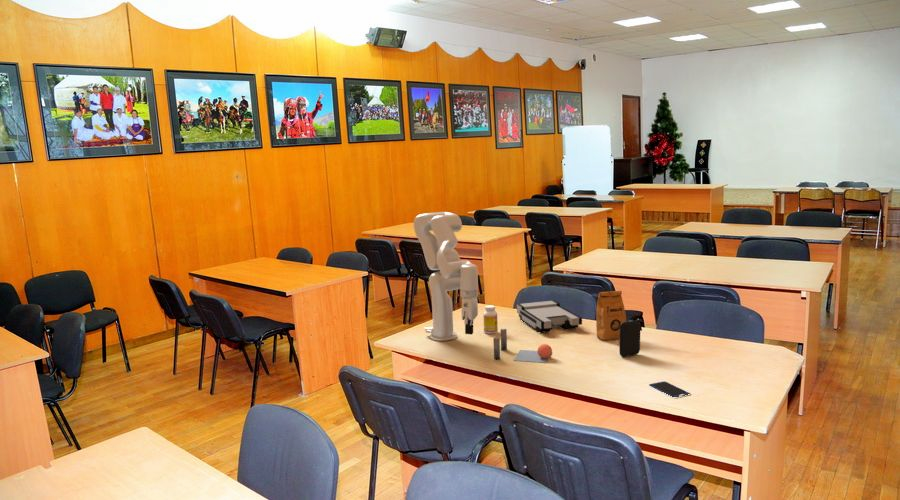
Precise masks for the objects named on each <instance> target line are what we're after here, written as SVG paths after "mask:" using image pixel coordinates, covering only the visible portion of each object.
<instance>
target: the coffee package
mask: <svg viewBox="0 0 900 500" xmlns="http://www.w3.org/2000/svg"><path fill="white" fill-rule="evenodd" d="M622 294H623V291H622V290H613V291H600V292H599V293H598V295H597V296H598V297H597V301H596V324H595V325H596V337H597V338H599V339H600V340H603V341H611V340H613V341H614V340H615V341H616V340H620V325H621V323H623V322H627V314H626V310H625V305H624V300H623V297H622Z"/></svg>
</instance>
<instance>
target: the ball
mask: <svg viewBox="0 0 900 500" xmlns="http://www.w3.org/2000/svg"><path fill="white" fill-rule="evenodd" d="M536 351H537V352H538V355H539V356H540V357H541V358H544V359H546V358H549V357H550V358H551V356H552V354H553V349H552V347H551V346H550V345H549V344H547V343H542V344H540V345H539V346H538V347H537V350H536Z"/></svg>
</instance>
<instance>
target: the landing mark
mask: <svg viewBox="0 0 900 500" xmlns="http://www.w3.org/2000/svg"><path fill="white" fill-rule="evenodd" d="M550 358H551V356H550V357H549V358H546V359H544V358H541V357H540V356H539V355H538V352H537V350H527V349H519V350H518V353H516V356H515V357H514V358H513V362H525V363H528V362H529V363H540V364H541V363H542V364H549V363H548V362H549V361H550Z"/></svg>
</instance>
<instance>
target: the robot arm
mask: <svg viewBox="0 0 900 500" xmlns="http://www.w3.org/2000/svg"><path fill="white" fill-rule="evenodd" d="M462 227H463V223H462V219H461V217H460V216H459V215H458V214H456V213H453V212H448V211H439V212H437V211H436V212H427V213H426V212H425V213H421V214H418V215H417V216H415V217H414V219H413V230H414V233H415V236H416V238H417V240H418V241H419V243H420V245H421V248H422V251H423V254H424V255H423V256H424V259H425V262H426V265H427V268H428V269H429V270H431V271H435V272H433V273H431V274H430V276H429V278H428V284H429V289H430V295H431V310H432V327H424V331H425V333H426V334H430V335H429V338H430V339H431V340H433V341H440V342H441V341H442V342H444V341H452V340H455V339H457V337H458V336H457V335H458V333H456V332H455V331H454V317H453V316H454V313H453V312H454V311H453V300H452V297H451V296H450V295H449V293H448V292H450V291H456V290H459V296H460V298H461V320H462V321H463V322H464V331H465V332H464V333H465V335H473V334H474V320H475V319H476V318H477V316H478V315H479V306H478V303H479V302H478V297H479V289H478V288H479V271H478V270H479V269H478V265H476V264H474V263H472V262H471V261H470V260H468V259H462V260H461V257H460V254H459V253H458V251H457V250H456V249H454V248H456V246H457V245H458V242H459V241H458V237H457V236H456V234H455V233H458V232H460V231H461V230H462ZM431 232H433V233H431Z"/></svg>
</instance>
